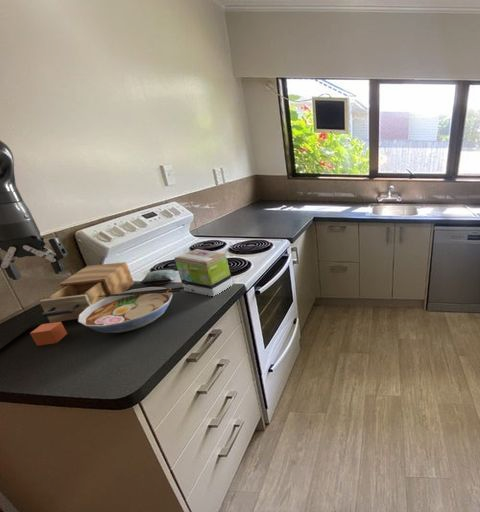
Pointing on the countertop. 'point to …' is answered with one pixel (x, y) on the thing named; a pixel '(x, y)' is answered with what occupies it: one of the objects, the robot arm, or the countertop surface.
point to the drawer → (72, 300)
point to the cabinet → (104, 277)
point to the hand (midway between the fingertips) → (39, 275)
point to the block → (48, 333)
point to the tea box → (204, 272)
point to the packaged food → (159, 277)
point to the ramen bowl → (127, 309)
